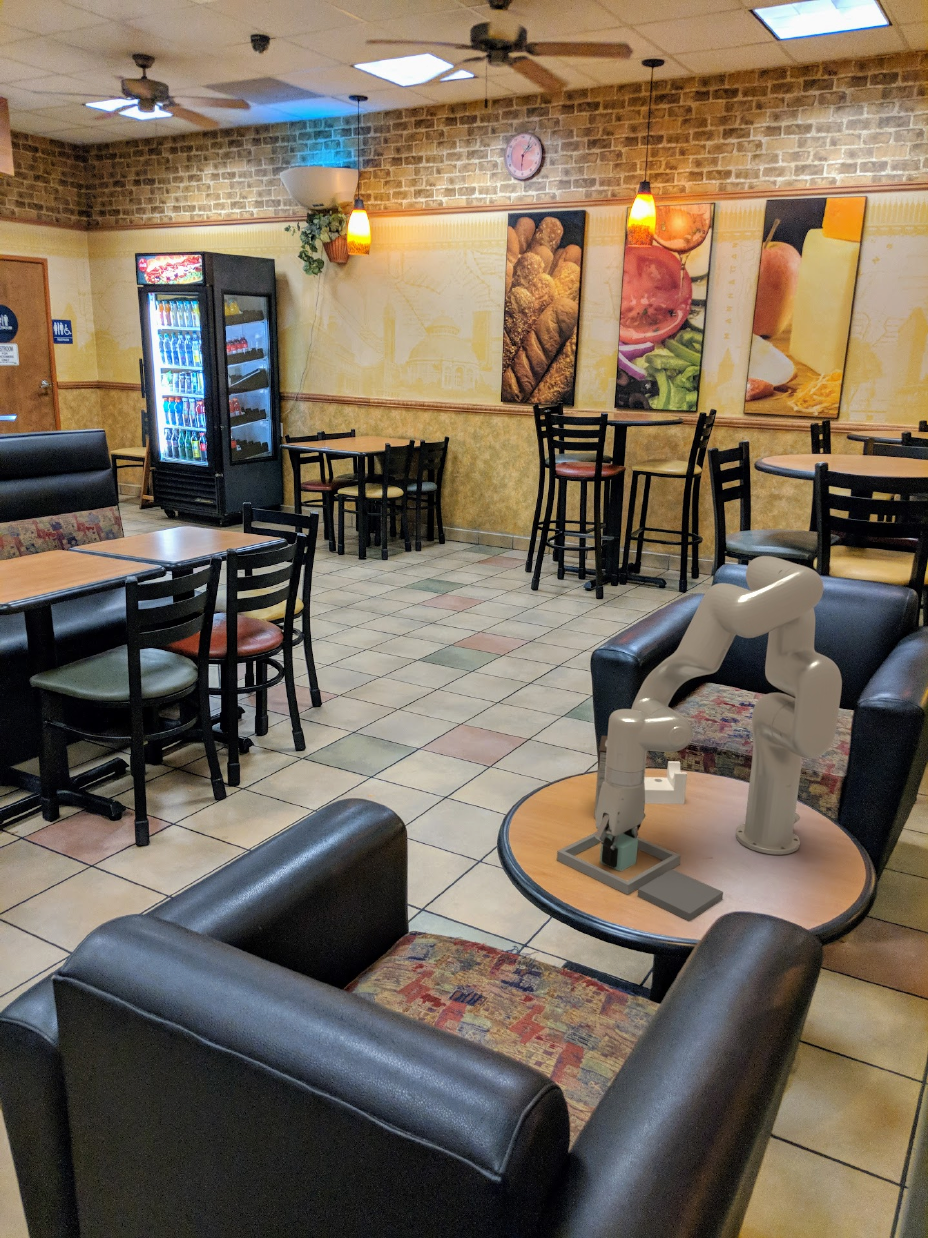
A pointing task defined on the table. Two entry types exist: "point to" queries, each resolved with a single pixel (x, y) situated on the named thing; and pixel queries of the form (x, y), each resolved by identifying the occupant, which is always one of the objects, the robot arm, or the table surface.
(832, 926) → the table surface
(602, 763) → the coffee box
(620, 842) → the teal cube
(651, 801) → the bracket
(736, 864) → the table surface
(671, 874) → the slate board
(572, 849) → the low bin
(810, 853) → the table surface
